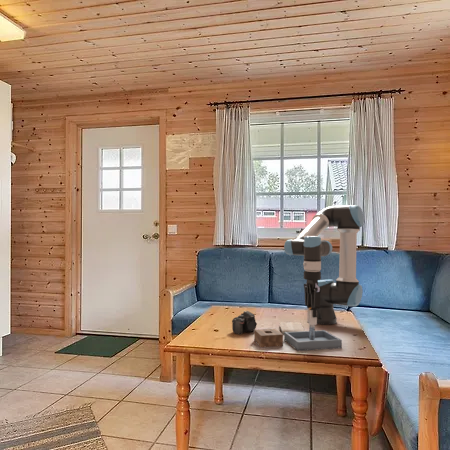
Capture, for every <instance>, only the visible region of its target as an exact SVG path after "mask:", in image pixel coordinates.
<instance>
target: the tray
mask: <svg viewBox="0 0 450 450" xmlns="http://www.w3.org/2000/svg"><path fill="white" fill-rule="evenodd" d="M283 341H285V343H286V342H287V343H288V344H289V345H290V346H291V347H293V348H294V349H295V350H296V351H298V352H299V351H316V350H315V349H318V350H332V349H333V348H335V349H342V348H343V347H342V345H343V340H342V339H341V338H339V337H337V336H336V335H333V334H332V333H330V332H329V331H327V330H325V329H324V330H323V329H322V330H315V340H310V339H309V330H305V331H298V332H284V334H283ZM333 350H334V349H333Z"/></svg>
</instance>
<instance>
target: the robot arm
mask: <svg viewBox="0 0 450 450" xmlns="http://www.w3.org/2000/svg"><path fill="white" fill-rule="evenodd" d="M364 217H365V216H364V211H363V210H362V208H361V207H360V206H359V205H357V204H355V205H354V204H353V205H352V204H348V205H347V204H346V205H331V206H327V207H324V208H323V209H321V210H319V211H318V212H317V213H315V215H313V217H312V220H311V221H310V222H309V223H308V224H307V225H306V226H305V228H303V229H302V231H301V232H300V233H299V234H297V236H296V237H295V238H294V239H292V238H291V239H287V240H285V242H284V244H283V245H284V246H283V247H284V248H283V250H284V253H286V255H289V256H303V264H302V265H303V270H304V271H303V279H304V280H305V281H306V283H303V290H304V306H306V308H307V310H306V311H307V321H306V322H307V324H309V307H311V309H310V324H311V325H315V326H316V325H335V324H337V323H338V321H337V320H338V318H337V315H336V313H335V309H334V305H337V306H345V307H354V308H355V307H357V306H359V305H360V303H361V301H362V297H363V293H364V292H363V286H362V285H361V284H360V283H359V282H360V281H359V280H358V279H357V245H358V244H357V240H358V239H357V237H358V234H357V233H359V231H361V228H362V227H363V226H364V223H365V218H364ZM332 227H336V228H337V231H338V232H339V265H338V266H339V267H338V269H339V271H338V277H337V278H336V279H335V281H334V279H322V273H321V270H322V257H327V256H329V255H330V254H332V251H333V245H332V243H331V242H330V241H329V240H325V239H322V238H321V236H319V235H320V234H321V233H322V231H324V230H327V229H328V228H332Z"/></svg>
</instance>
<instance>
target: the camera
mask: <svg viewBox="0 0 450 450" xmlns="http://www.w3.org/2000/svg"><path fill="white" fill-rule="evenodd" d="M255 317H256V316H255V314H254V313H252V312H250V311H249V310H246V311H245V310H243V312H242V313H241V314H240V315H237V317H234V318H232V320H231V324H232V325H231V327H232V332H233V334H235V335H239V336H240V335H243V333H244V334H245V333H251V332H254V330H256V329H257V325H258V323H257V322H256V318H255Z"/></svg>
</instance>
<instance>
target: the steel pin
mask: <svg viewBox="0 0 450 450" xmlns="http://www.w3.org/2000/svg"><path fill="white" fill-rule="evenodd" d="M310 309H311V307H309V323H308V327H309V328H308V331H309V339H310V340H315V331H316V328H315V327H316V325H311V324H310Z"/></svg>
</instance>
